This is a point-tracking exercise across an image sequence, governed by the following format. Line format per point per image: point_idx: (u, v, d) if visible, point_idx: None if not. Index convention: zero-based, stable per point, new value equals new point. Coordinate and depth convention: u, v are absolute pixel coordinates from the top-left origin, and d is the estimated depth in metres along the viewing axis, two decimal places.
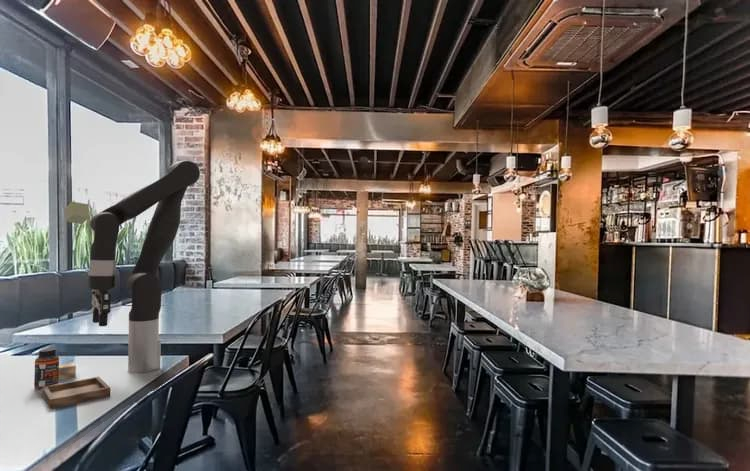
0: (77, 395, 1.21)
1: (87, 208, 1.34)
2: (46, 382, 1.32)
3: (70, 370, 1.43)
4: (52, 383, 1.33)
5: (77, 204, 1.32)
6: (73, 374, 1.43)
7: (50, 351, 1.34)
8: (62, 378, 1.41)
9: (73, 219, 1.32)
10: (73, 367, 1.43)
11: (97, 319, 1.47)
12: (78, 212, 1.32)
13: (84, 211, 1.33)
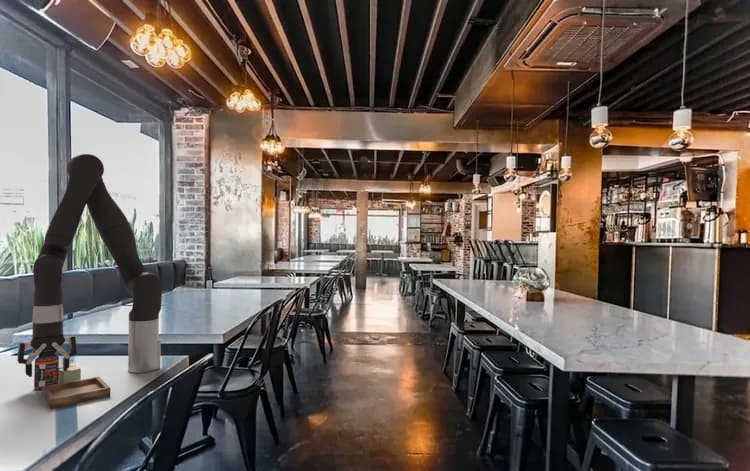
0: (77, 395, 1.21)
1: None
2: (46, 382, 1.32)
3: None
4: (52, 383, 1.33)
5: None
6: None
7: (50, 351, 1.34)
8: None
9: None
10: None
11: None
12: None
13: None
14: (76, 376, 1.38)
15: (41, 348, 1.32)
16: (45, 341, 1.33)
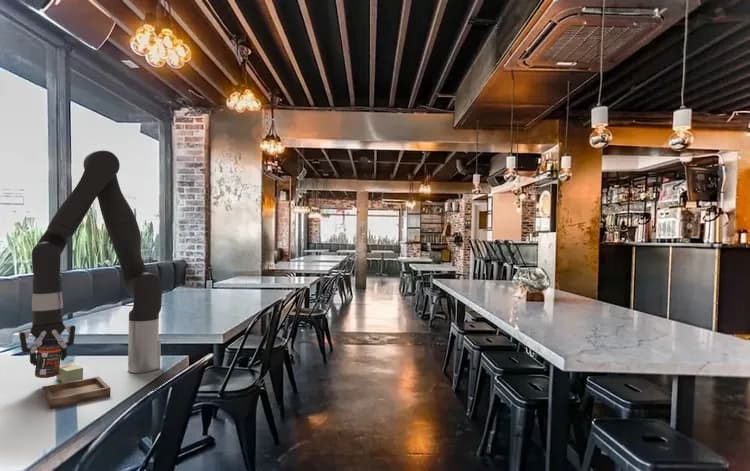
0: (77, 395, 1.21)
1: None
2: (47, 371, 1.32)
3: None
4: (53, 372, 1.33)
5: None
6: None
7: (53, 340, 1.34)
8: None
9: (69, 369, 1.38)
10: None
11: (35, 361, 1.33)
12: None
13: None
14: (79, 375, 1.39)
15: (41, 336, 1.32)
16: (45, 329, 1.34)
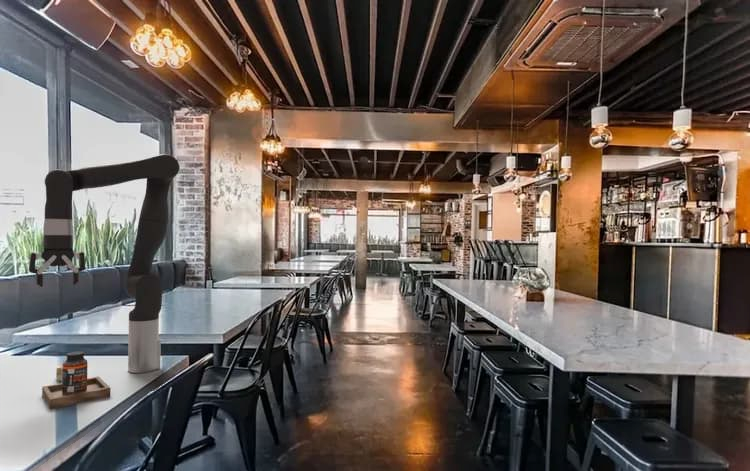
0: (77, 395, 1.21)
1: None
2: (74, 388, 1.24)
3: None
4: (81, 389, 1.25)
5: None
6: None
7: (79, 355, 1.26)
8: None
9: None
10: None
11: None
12: None
13: None
14: None
15: (51, 259, 1.37)
16: (55, 253, 1.38)
